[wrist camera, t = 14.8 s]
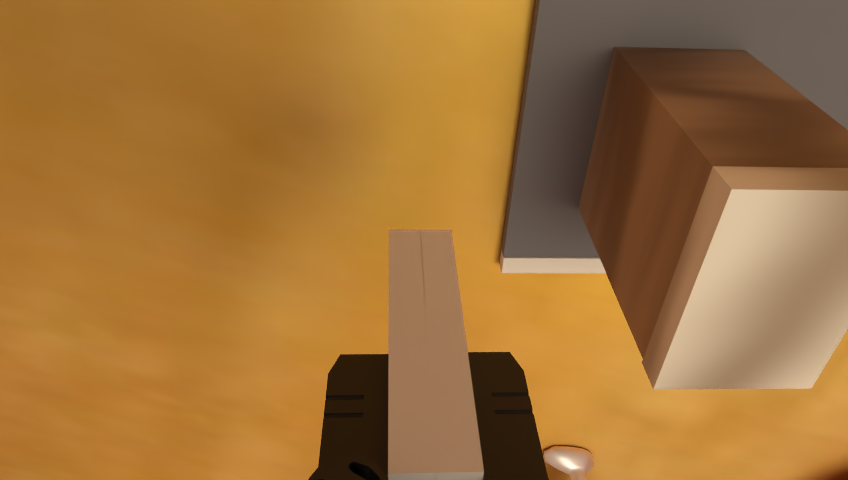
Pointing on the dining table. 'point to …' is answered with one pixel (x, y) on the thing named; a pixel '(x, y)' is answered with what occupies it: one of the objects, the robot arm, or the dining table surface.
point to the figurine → (570, 461)
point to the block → (720, 218)
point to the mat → (586, 81)
